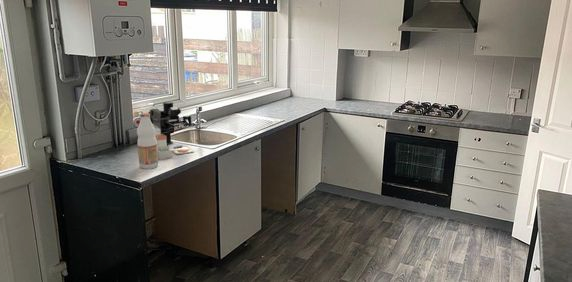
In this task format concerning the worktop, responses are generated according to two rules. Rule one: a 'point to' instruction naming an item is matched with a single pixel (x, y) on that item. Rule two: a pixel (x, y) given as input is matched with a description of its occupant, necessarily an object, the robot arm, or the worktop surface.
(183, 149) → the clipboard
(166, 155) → the button base
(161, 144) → the white pill bottle
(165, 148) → the button
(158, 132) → the mug
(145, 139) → the fruit juice
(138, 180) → the worktop surface
